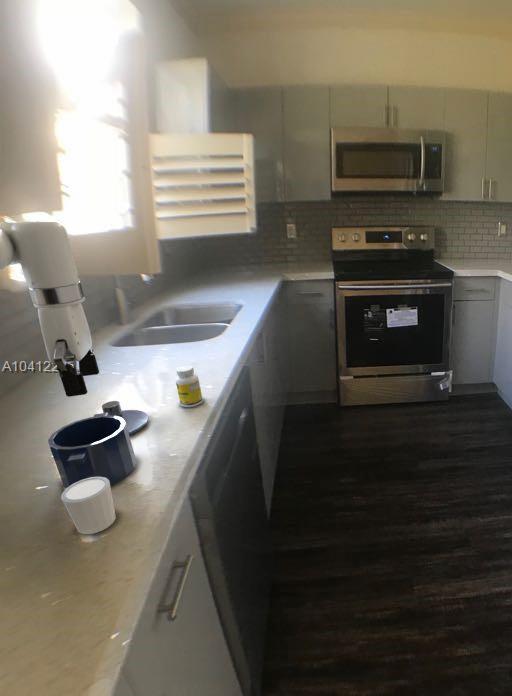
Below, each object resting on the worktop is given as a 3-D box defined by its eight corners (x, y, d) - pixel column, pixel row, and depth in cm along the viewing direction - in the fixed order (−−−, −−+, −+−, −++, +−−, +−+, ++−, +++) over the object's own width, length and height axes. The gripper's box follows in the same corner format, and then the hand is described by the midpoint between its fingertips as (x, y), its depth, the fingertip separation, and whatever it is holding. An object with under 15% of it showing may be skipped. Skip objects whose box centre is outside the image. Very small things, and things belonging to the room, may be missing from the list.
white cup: (103, 504, 82) (92, 472, 79) (128, 515, 79) (118, 482, 76) (63, 529, 76) (51, 495, 73) (90, 542, 73) (77, 506, 70)
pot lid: (75, 447, 99) (67, 422, 97) (92, 419, 112) (85, 396, 109) (143, 437, 103) (137, 412, 101) (153, 410, 115) (147, 388, 113)
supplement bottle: (176, 404, 118) (168, 369, 114) (194, 396, 122) (188, 362, 118) (188, 409, 115) (181, 374, 111) (207, 401, 119) (200, 366, 115)
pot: (48, 508, 81) (31, 462, 77) (78, 454, 97) (65, 415, 93) (126, 493, 84) (114, 449, 81) (143, 444, 100) (133, 405, 97)
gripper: (48, 286, 86) (73, 370, 92) (13, 309, 71) (46, 407, 77) (93, 283, 88) (115, 365, 95) (68, 304, 73) (96, 400, 80)
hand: (84, 384), depth 86 cm, fingers open, 9 cm apart
